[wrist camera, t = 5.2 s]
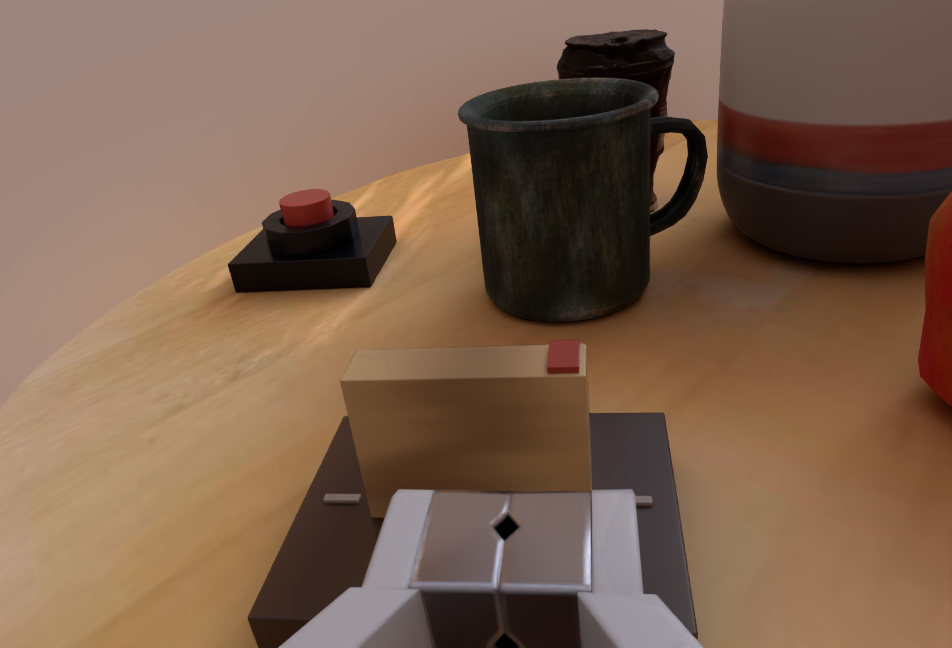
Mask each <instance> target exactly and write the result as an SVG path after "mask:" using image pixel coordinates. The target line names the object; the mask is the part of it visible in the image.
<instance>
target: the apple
mask: <svg viewBox="0 0 952 648" xmlns="http://www.w3.org/2000/svg"><path fill="white" fill-rule="evenodd" d="M925 298H926V310H925V317H924V323H923V330H922V337H921V343H920V350H919V356H918V364H919V371H920V377H921V378H922V379H923V380H924V381H925V382H926V383H927V384H928V385H929V386H930V387H931V388H932V389H933V390H934V392H935V393H936V394H937V395H938V396H939V397H941V398H942V399H943V400H944V401H945V402H946V403H947V404H948V405H949V406H950V407H952V191H951V193H950V194H949V195H948V197H947V198H946V199H945V200H944V202H943V203H942V204H941V205H940V207H939V208H938V209H937V211H936V212H935V213H934V214H933V216H932V217H931V218H930V222H929V230H928V238H927V245H926V253H925Z"/></svg>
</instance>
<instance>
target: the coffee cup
mask: <svg viewBox="0 0 952 648" xmlns="http://www.w3.org/2000/svg"><path fill="white" fill-rule="evenodd" d="M666 35H667V33H666V32H662V31H658V30H631V31H623V32H609V33H604V34H596V35H587V36H586V35H584V36H583V35H582V36H575V37H572V38H569V39H568V40H566V41H565V44H566V45H568V46H567V47H566V48H565V49H564V50H563V53H562V56H561V58H560V60H559V62H558V64H557V70H558V74H559V80H560V79H573V78H617V79H627V80H634V81H639V82H643V83H645V84H648V85H650V86H652V87H653V88H655V89H656V90H657V92H658V95H659V96H658V101H657V103H656V104H655V105H654V106H653V107H651V111H650V118H655V117H667V102H666V97H667V91H668V84H669V80H670V78H671V70H672V66H673V63H674V54H675V52H674V51H673V50H671V49H669V48H668V47H667V46H666V43H665V37H666ZM664 134H665V133H662V134H655V135H650V211H651V210H653V209H655V208H656V206H657V205H658V204H657V197H656V195H655V193H654V191H653V175H654V172H655V168H656V164H657V161H658V158H659V156H660V155H661V154H662V153H663V150H664Z"/></svg>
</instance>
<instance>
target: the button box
mask: <svg viewBox="0 0 952 648" xmlns="http://www.w3.org/2000/svg"><path fill="white" fill-rule="evenodd" d="M331 201H332V206H333V211H334V217H332V218H330V219H328V220H326V221H324V222H321V223H316V224H312V225H308V226H296V227H291V226H286V225H284V221H283V216H282V212H281V210H279V211H277V212H274V213H272V214H270V215H269V216H268V217H267V218H266V219H265V220H264V221H263V222H262V225H263V230H262V231H261V232H260V233H259V234H258V235H257V236H256V237H255V238H254V239H253V240H252V241H251V242H250V243H249V244H248V245H247V246H246V247H245V248H244V249H243V250H242V251H241V252H240V253H239V254H238V255H237V256H236V257H235V258H234V259H233V260H232V261H231V262H230V263H229V264H228V267H229V271H230V274H231V277H232V281H233V284H234V288H235V291H236V292H253V291H277V290H302V289H326V288H350V287H371V285H372V284H373V282H374V280H375V278H376V277H377V275H378V273H379V271H380V270H381V268H382V266H383V264H384V263H385V261H386V259H387V257H388V256H389V254H390V252H391V251H392V249H393V247H394V245H395V244H396V242H397V241H396V235H395V229H394V223H393V218H392V216H375V217H358V218H357V217H356V212H355V209H354V207H353V206H352V205H351V204H350V203H349V202H343V201H338V200H331Z"/></svg>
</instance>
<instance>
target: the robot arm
mask: <svg viewBox="0 0 952 648" xmlns="http://www.w3.org/2000/svg"><path fill="white" fill-rule="evenodd" d="M278 648H704V647H703V646H702V645H701V644H700V643H699V642H698V641H697V640H696V638H695V637H694V636H693V635H692V634H691V633H690V632H689V631H688V629H687V628H686V627H685V626H684V625H683V624H682V623H681V622H680V620H679V619H678V618H677V617H676V616H675V615H674V614H673V613H672V611H671V610H670V609H669V608H668V607H667V606H666V605H665V604H664V603H663V601H662V600H661V599H660V598H659V597H658V596H657V595H655V594H643V584H642V572H641V560H640V548H639V535H638V523H637V511H636V499H635V494H634V492H633V490H632V489H616V490H592V495H591V491H483V490H441V489H437V490H436V491H435V490H410V489H398V490H397V492H396V493H395V494H394V495H393V496H392V498H391V501H390V504H389V507H388V510H387V513H386V515H385V518H384V521H383V524H382V527H381V530H380V533H379V536H378V539H377V542H376V545H375V548H374V551H373V554H372V557H371V560H370V563H369V566H368V569H367V572H366V575H365V578H364V581H363V584H362V587H350V588H348V589H347V590H346V591H345V592H344V593H342V594H341V595H340V596H339V597H338V598H336V599H335V600H334V601H333V602H332V603H331V604H329V605H328V606H327V607H326V608H325V609H323V610H322V611H321V612H320V613H319V614H317V615H316V616H315V617H314V618H313V619H312V620H310V621H309V622H308V623H307V624H306V625H304V626H303V627H302V628H301V629H300V630H299V631H297V632H296V633H295V634H294V635H293V636H291V637H290V638H289V639H288V640H287V641H285V642H284V643H283V644H282V645H281V646H280V647H278Z"/></svg>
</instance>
